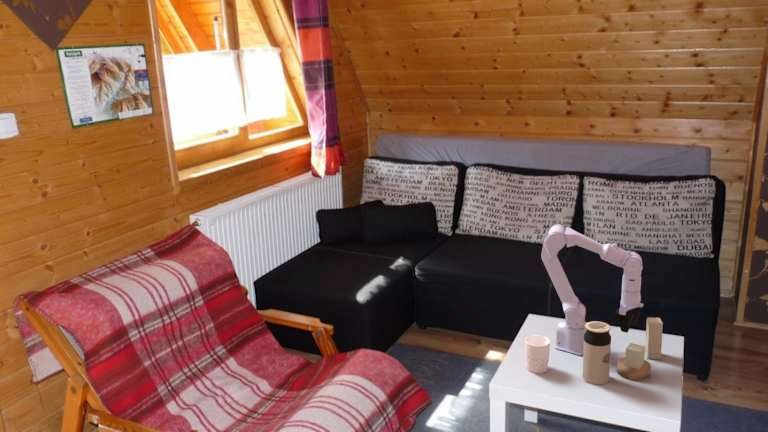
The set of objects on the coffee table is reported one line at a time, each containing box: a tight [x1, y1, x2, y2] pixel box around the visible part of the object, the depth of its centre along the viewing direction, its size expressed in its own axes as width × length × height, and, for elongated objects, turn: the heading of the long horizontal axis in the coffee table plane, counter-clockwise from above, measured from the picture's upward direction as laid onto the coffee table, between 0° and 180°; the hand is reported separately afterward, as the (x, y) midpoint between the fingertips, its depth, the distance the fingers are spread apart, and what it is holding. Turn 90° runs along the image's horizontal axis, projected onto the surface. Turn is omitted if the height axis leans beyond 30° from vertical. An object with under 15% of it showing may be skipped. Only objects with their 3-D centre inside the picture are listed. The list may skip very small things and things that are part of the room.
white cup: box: [524, 334, 551, 374], centre depth 208 cm, size 8×8×10 cm
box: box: [644, 316, 664, 360], centre depth 212 cm, size 5×4×13 cm
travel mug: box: [581, 320, 612, 385], centre depth 199 cm, size 8×8×18 cm
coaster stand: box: [616, 356, 652, 382], centre depth 203 cm, size 10×10×3 cm
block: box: [624, 342, 646, 369], centre depth 202 cm, size 4×4×6 cm
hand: (628, 327), depth 213 cm, fingers open, 7 cm apart
